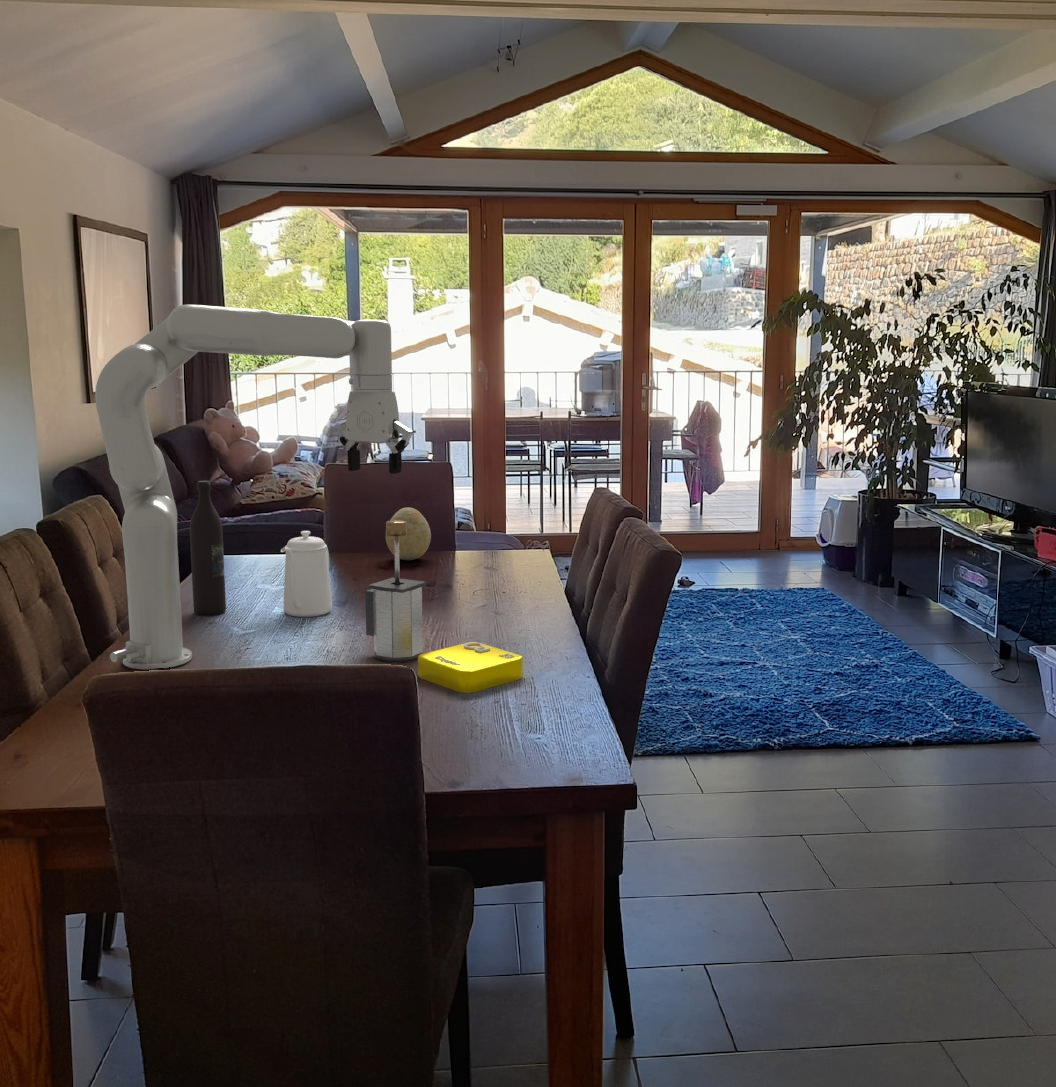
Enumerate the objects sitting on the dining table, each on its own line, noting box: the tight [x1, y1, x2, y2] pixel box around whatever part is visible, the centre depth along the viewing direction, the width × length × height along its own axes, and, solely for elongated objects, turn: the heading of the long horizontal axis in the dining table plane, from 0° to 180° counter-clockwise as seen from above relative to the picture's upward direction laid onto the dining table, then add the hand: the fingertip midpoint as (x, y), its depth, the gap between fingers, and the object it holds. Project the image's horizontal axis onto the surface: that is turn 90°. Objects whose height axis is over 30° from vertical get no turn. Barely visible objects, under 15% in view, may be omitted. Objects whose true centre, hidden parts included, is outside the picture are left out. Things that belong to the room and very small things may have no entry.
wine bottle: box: [189, 480, 227, 617], centre depth 243 cm, size 7×7×30 cm
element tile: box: [417, 641, 524, 694], centre depth 200 cm, size 15×15×5 cm
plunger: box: [385, 520, 407, 585], centre depth 210 cm, size 7×7×14 cm
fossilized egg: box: [385, 507, 432, 561], centre depth 306 cm, size 13×13×15 cm
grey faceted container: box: [364, 577, 427, 663], centre depth 212 cm, size 9×12×15 cm
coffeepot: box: [280, 530, 333, 618], centre depth 245 cm, size 11×25×19 cm, turn 168°
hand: (374, 471), depth 214 cm, fingers open, 9 cm apart
